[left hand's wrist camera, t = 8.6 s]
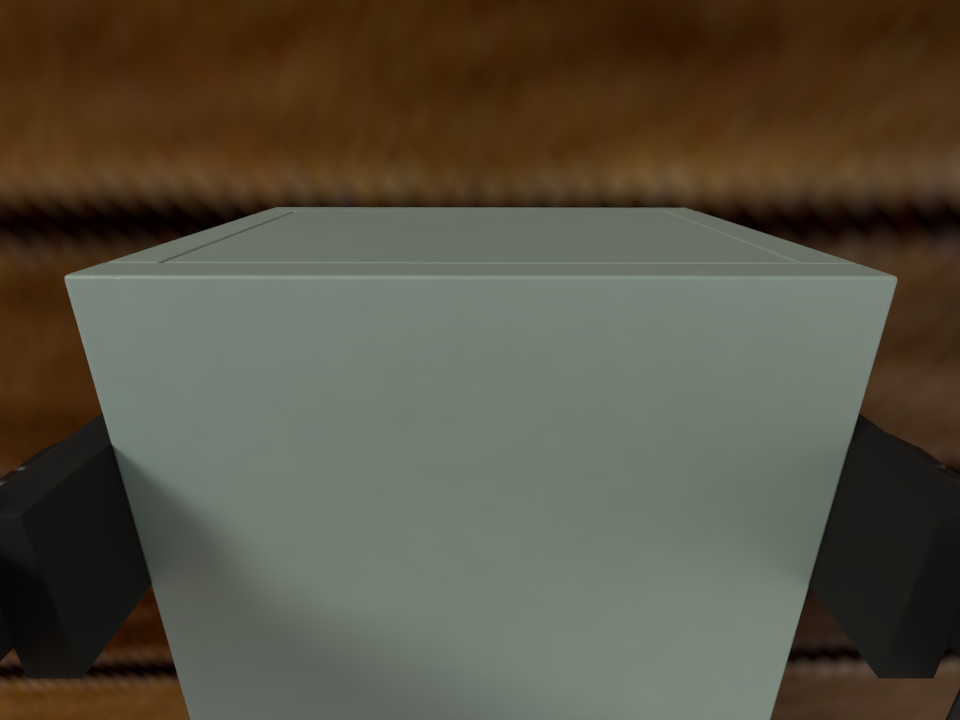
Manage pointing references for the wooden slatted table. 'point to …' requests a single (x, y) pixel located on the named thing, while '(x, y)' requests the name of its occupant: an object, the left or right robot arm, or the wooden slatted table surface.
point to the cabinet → (480, 456)
